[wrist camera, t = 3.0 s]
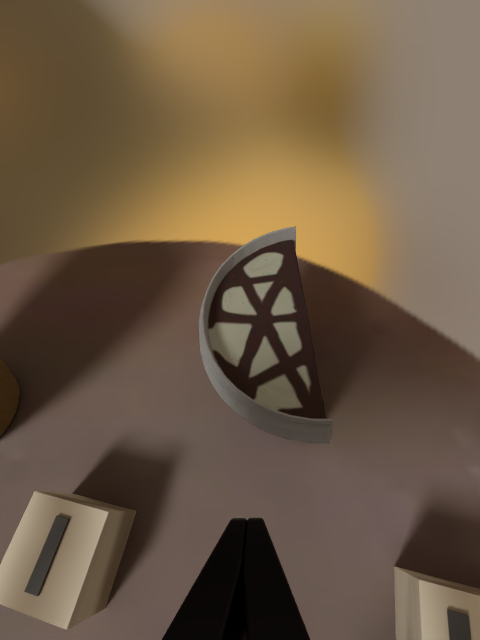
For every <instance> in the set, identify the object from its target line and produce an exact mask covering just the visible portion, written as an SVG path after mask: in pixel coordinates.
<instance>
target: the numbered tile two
mask: <svg viewBox="0 0 480 640" xmlns="http://www.w3.org/2000/svg"><path fill="white" fill-rule="evenodd" d="M394 578H395V624H396V640H480V589H479V588H475V587H471V586H468V585H464V584H460V583H456V582H452V581H449V580H445V579H441V578H437V577H434V576H430V575H426V574H422V573H418V572H415V571H411V570H407V569H403V568H399V567H396V566H394Z"/></svg>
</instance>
